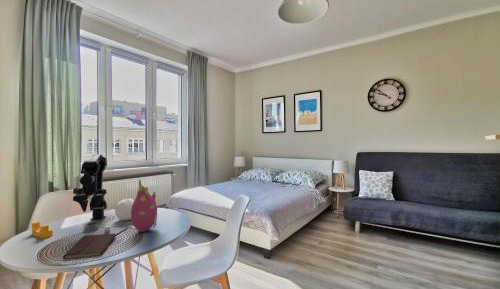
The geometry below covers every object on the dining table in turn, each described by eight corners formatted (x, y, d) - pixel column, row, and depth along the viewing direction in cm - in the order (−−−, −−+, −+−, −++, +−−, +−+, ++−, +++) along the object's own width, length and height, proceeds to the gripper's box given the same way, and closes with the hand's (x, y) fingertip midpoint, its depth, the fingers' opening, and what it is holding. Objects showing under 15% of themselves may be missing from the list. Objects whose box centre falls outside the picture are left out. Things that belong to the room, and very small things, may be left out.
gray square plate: (104, 227, 138) (104, 221, 138) (126, 228, 137) (126, 222, 136) (85, 237, 124) (85, 230, 124) (110, 238, 123) (110, 232, 123)
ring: (90, 226, 139) (90, 222, 139) (100, 227, 139) (100, 222, 138) (81, 231, 133) (81, 226, 133) (92, 231, 132) (92, 226, 132)
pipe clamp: (52, 235, 126) (52, 224, 126) (42, 238, 123) (42, 226, 122) (41, 231, 132) (41, 220, 132) (31, 234, 128) (31, 222, 128)
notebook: (115, 236, 124) (115, 232, 124) (102, 255, 105) (101, 250, 105) (83, 239, 121) (83, 235, 120) (63, 259, 101) (63, 254, 101)
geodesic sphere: (128, 205, 164) (119, 192, 155) (146, 206, 162) (138, 192, 153) (115, 224, 153) (105, 210, 144) (135, 225, 150) (126, 212, 142)
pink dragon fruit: (156, 235, 127) (156, 180, 126) (128, 238, 123) (128, 182, 122) (158, 224, 144) (158, 176, 143) (134, 226, 140) (133, 177, 139)
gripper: (90, 179, 145) (90, 204, 146) (63, 185, 127) (63, 213, 127) (107, 180, 144) (107, 205, 144) (82, 186, 125) (82, 214, 126)
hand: (90, 209), depth 135 cm, fingers open, 9 cm apart
